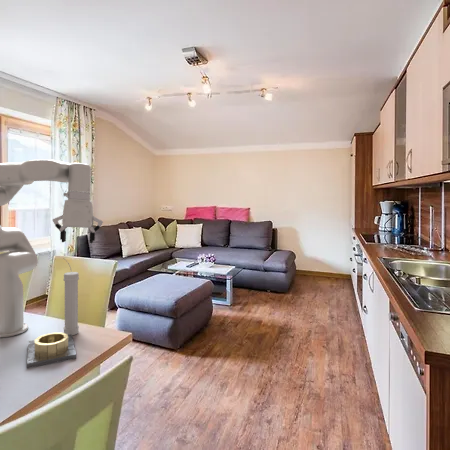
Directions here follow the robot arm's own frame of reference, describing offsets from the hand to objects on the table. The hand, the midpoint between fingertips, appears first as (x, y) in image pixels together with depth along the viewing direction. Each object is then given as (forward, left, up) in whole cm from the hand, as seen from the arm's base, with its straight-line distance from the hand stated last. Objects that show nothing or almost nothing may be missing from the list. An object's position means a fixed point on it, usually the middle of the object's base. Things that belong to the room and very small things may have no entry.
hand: (77, 242), depth 119 cm
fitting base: (+8, -9, -37) cm, 39 cm away
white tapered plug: (-6, -2, -37) cm, 38 cm away
